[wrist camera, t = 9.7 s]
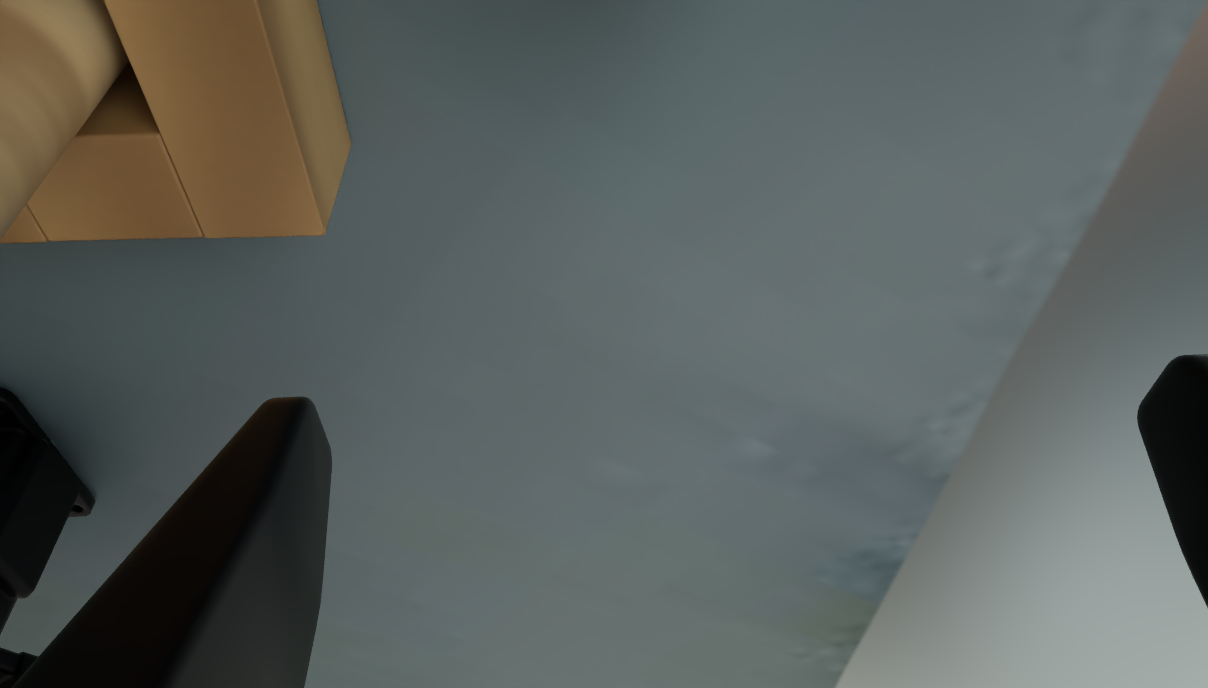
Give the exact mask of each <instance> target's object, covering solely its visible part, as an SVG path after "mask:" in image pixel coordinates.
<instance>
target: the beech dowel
mask: <svg viewBox="0 0 1208 688" xmlns="http://www.w3.org/2000/svg"><path fill="white" fill-rule="evenodd" d="M128 62H129V59H128V56H127V54H126V52H125V49H124V47H123V45H122V42H121V40H120V38H119V35H118V33H117V31H116V28H115V26H114V23H113V21H112V19H111V16H110V14H109V12H108V9H107V7H106V5H105V2H104V0H0V240H1V238H2V237H3V236H4V234H5V233H6V231H7V230H8V229H9V227H10V226H11V224H12V223H13V222H14V220H15V219H16V217H17V216H18V215H19V213H20V212H21V211H22V209H23V208H24V206H25V205H26V204H27V202H28V201H29V199H30V198H31V197H32V195H33V194H34V192H35V191H36V190H37V188H38V187H39V186H40V184H41V183H42V181H43V180H44V179H45V177H46V176H47V174H48V173H49V172H50V170H51V169H52V168H53V166H54V165H55V163H56V162H57V161H58V159H59V158H60V156H61V155H62V154H63V152H64V151H65V149H66V148H67V147H68V145H69V144H70V143H71V141H72V140H73V138H74V137H75V136H76V134H77V133H78V131H79V130H80V129H81V127H82V126H83V124H84V123H85V122H86V120H87V119H88V118H89V116H90V115H91V113H92V112H93V111H94V109H95V108H96V106H97V105H98V104H99V102H100V101H101V100H102V98H103V97H104V95H105V94H106V93H107V91H108V90H109V88H110V87H111V86H112V84H113V83H114V81H115V80H116V79H117V77H118V76H119V75H120V73H121V72H122V70H123V69H124V68H125V66H126V65H127V63H128Z"/></svg>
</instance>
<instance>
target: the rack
mask: <svg viewBox="0 0 1208 688" xmlns="http://www.w3.org/2000/svg"><path fill="white" fill-rule="evenodd" d="M104 2H105V5H106V7H107V9H108V12H109V14H110V16H111V19H112V21H113V23H114V26H115V28H116V31H117V33H118V35H119V38H120V40H121V42H122V45H123V47H124V49H125V52H126V54H127V56H128V59H129V62H128V63H127V65H126V66H125V68H124V69H123V70H122V72H121V73H120V75H119V76H118V77H117V79H116V80H115V81H114V83H113V84H112V86H111V87H110V88H109V90H108V91H107V93H106V94H105V95H104V97H103V98H102V100H101V101H100V102H99V104H98V105H97V106H96V108H95V109H94V111H93V112H92V113H91V115H90V116H89V118H88V119H87V120H86V122H85V123H84V124H83V126H82V127H81V129H80V130H79V131H78V133H77V134H76V136H75V137H74V138H73V140H72V141H71V143H70V144H69V145H68V147H67V148H66V149H65V151H64V152H63V154H62V155H61V156H60V158H59V159H58V161H57V162H56V163H55V165H54V166H53V168H52V169H51V170H50V172H49V173H48V174H47V176H46V177H45V179H44V180H43V181H42V183H41V184H40V186H39V187H38V188H37V190H36V191H35V192H34V194H33V195H32V197H31V198H30V199H29V201H28V202H27V204H26V205H25V206H24V208H23V209H22V211H21V212H20V213H19V215H18V216H17V217H16V219H15V220H14V222H13V223H12V224H11V226H10V227H9V229H8V230H7V231H6V233H5V234H4V236H3V237H2V238H1V240H0V243H37V242H47V241H48V240H50V241H85V240H126V239H167V238H200V237H203V236H204V237H205V238H241V237H282V236H322V235H325V233H326V229H327V226H328V222H329V219H330V216H331V212H332V209H333V205H334V202H335V199H336V195H337V192H338V188H339V185H340V181H341V178H342V175H343V171H344V168H345V164H346V161H347V158H348V154H349V151H350V147H351V140H350V136H349V132H348V128H347V124H346V120H345V116H344V111H343V107H342V103H341V99H340V95H339V91H338V87H337V83H336V78H335V74H334V70H333V66H332V62H331V58H330V54H329V49H328V45H327V41H326V37H325V33H324V29H323V25H322V21H321V16H320V12H319V8H318V4H317V0H104Z"/></svg>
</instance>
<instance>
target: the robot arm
mask: <svg viewBox="0 0 1208 688" xmlns="http://www.w3.org/2000/svg"><path fill="white" fill-rule="evenodd" d="M1137 419H1138V426H1139V430H1140V433H1141V436H1142V439H1143V442H1144V445H1145V447H1146V450H1147V453H1148V456H1149V459H1150V462H1151V465H1152V468H1153V471H1154V474H1155V476H1156V479H1157V482H1158V485H1159V488H1160V491H1161V494H1162V497H1163V500H1164V503H1165V506H1166V508H1167V511H1168V514H1169V517H1170V520H1171V523H1172V526H1173V529H1174V531H1175V534H1176V537H1177V539H1178V542H1179V545H1180V548H1181V550H1182V553H1183V555H1184V557H1185V560H1186V562H1187V564H1188V566H1189V569H1190V571H1191V573H1192V576H1193V578H1194V580H1195V582H1196V584H1197V586H1198V588H1199V590H1200V592H1201V595H1202V597H1203V599H1204V601H1205V603H1206V605H1207V607H1208V354H1200V355H1183V356H1178V357H1176V358H1175V359H1173V360H1172V361H1171V362H1170V363H1169V364H1168V365H1167V366H1166V368H1165V369H1164V371H1163V372H1162V374H1161V375H1160V376H1159V378H1158V379H1157V380H1156V382H1155V383H1154V385H1153V386H1152V388H1151V389H1150V391H1149V392H1148V393H1147V395H1146V396H1145V398H1144V399H1143V400H1142V402H1141V404H1140V406H1139V409H1138V415H1137ZM331 472H332V456H331V449H330V445H329V442H328V440H327V437H326V434H325V432H324V429H323V426H322V424H321V421H320V418H319V416H318V413H317V410H316V408H315V405H314V404H313V402H312V401H311V400H310V399H309V398H307V397H283V398H272V399H269V400H267V401H266V402H264V403H263V404H262V405H261V406H260V407H259V408H258V409H257V411H256V412H255V413H254V414H253V415H252V416H251V417H250V418H249V420H248V421H247V422H246V423H245V424H244V425H243V426H242V428H241V429H240V430H239V431H238V432H237V433H236V434H235V435H234V437H233V438H232V439H231V440H230V441H229V442H228V443H227V444H226V446H225V447H224V448H223V449H222V450H221V451H220V452H219V454H218V455H217V456H216V457H215V458H214V459H213V460H212V461H211V463H210V464H209V465H208V466H207V467H206V468H205V469H204V470H203V472H202V473H201V474H200V475H199V476H198V477H197V478H196V480H195V481H194V482H193V483H192V484H191V485H190V486H189V487H188V489H187V490H186V491H185V492H184V493H183V494H182V495H181V496H180V498H179V499H178V500H177V501H176V502H175V503H174V504H173V506H172V507H171V508H170V509H169V510H168V511H167V512H166V513H165V515H164V516H163V517H162V518H161V519H160V520H159V521H158V522H157V524H156V525H155V526H154V527H153V528H152V529H151V530H150V531H149V533H148V534H147V535H146V536H145V537H144V538H143V539H142V541H141V542H140V543H139V544H138V545H137V546H136V547H135V548H134V550H133V551H132V552H131V553H130V554H129V555H128V556H127V557H126V559H125V560H124V561H123V562H122V563H121V564H120V565H119V567H118V568H117V569H116V570H115V571H114V572H113V573H112V574H111V576H110V577H109V578H108V579H107V580H106V581H105V582H104V583H103V585H102V586H101V587H100V588H99V589H98V590H97V591H96V593H95V594H94V595H93V596H92V597H91V598H90V599H89V600H88V602H87V603H86V604H85V605H84V606H83V607H82V608H81V609H80V611H79V612H78V613H77V614H76V615H75V616H74V617H73V619H72V620H71V621H70V622H69V623H68V624H67V625H66V626H65V628H64V629H63V630H62V631H61V632H60V633H59V634H58V635H57V637H56V638H55V639H54V640H53V641H52V642H51V643H50V645H49V646H48V647H47V648H46V649H45V650H44V651H43V652H42V654H41V655H40V656H39V657H38V656H35V655H32V654H29V653H26V652H21V653H19V654H18V653H15V652H12V651H9V650H6V649H3V648H0V688H304V685H305V680H306V676H307V671H308V666H309V661H310V656H311V651H312V646H313V641H314V636H315V631H316V626H317V621H318V615H319V609H320V603H321V593H322V583H323V572H324V559H325V547H326V534H327V522H328V510H329V497H330V485H331ZM94 504H95V499H94V497H93V496H92V495H91V493H90V492H89V491H88V489H87V488H86V487H85V485H84V484H83V483H82V482H81V480H80V479H79V478H78V476H77V475H76V474H75V472H74V471H73V470H72V468H71V467H70V466H69V465H68V463H67V462H66V461H65V459H64V458H63V457H62V455H61V454H60V453H59V451H58V450H57V449H56V448H55V446H54V445H53V444H52V442H51V441H50V440H49V438H48V437H47V436H46V434H45V433H44V432H43V431H42V429H41V428H40V427H39V425H38V424H37V423H36V421H35V420H34V419H33V418H32V416H31V415H30V414H29V412H28V411H27V410H26V408H25V407H24V406H23V404H22V403H21V402H20V401H19V399H18V398H17V397H16V396H15V395H14V394H13V393H12V392H10V391H8V390H6V389H3V388H0V634H1V632H2V630H3V628H4V626H5V624H6V622H7V619H8V617H9V615H10V613H11V611H12V609H13V607H14V605H15V603H16V600H17V598H26V597H28V596H29V595H30V594H31V593H32V592H33V591H34V589H35V587H36V585H37V583H38V581H39V579H40V577H41V574H42V572H43V570H44V568H45V566H46V564H47V561H48V559H49V557H50V555H51V553H52V551H53V548H54V546H55V544H56V542H57V540H58V538H59V535H60V533H61V531H62V529H63V527H64V525H65V522H66V520H67V518H68V517H77V516H87V515H89V514H90V513H91V511H92V508H93V506H94Z"/></svg>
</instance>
